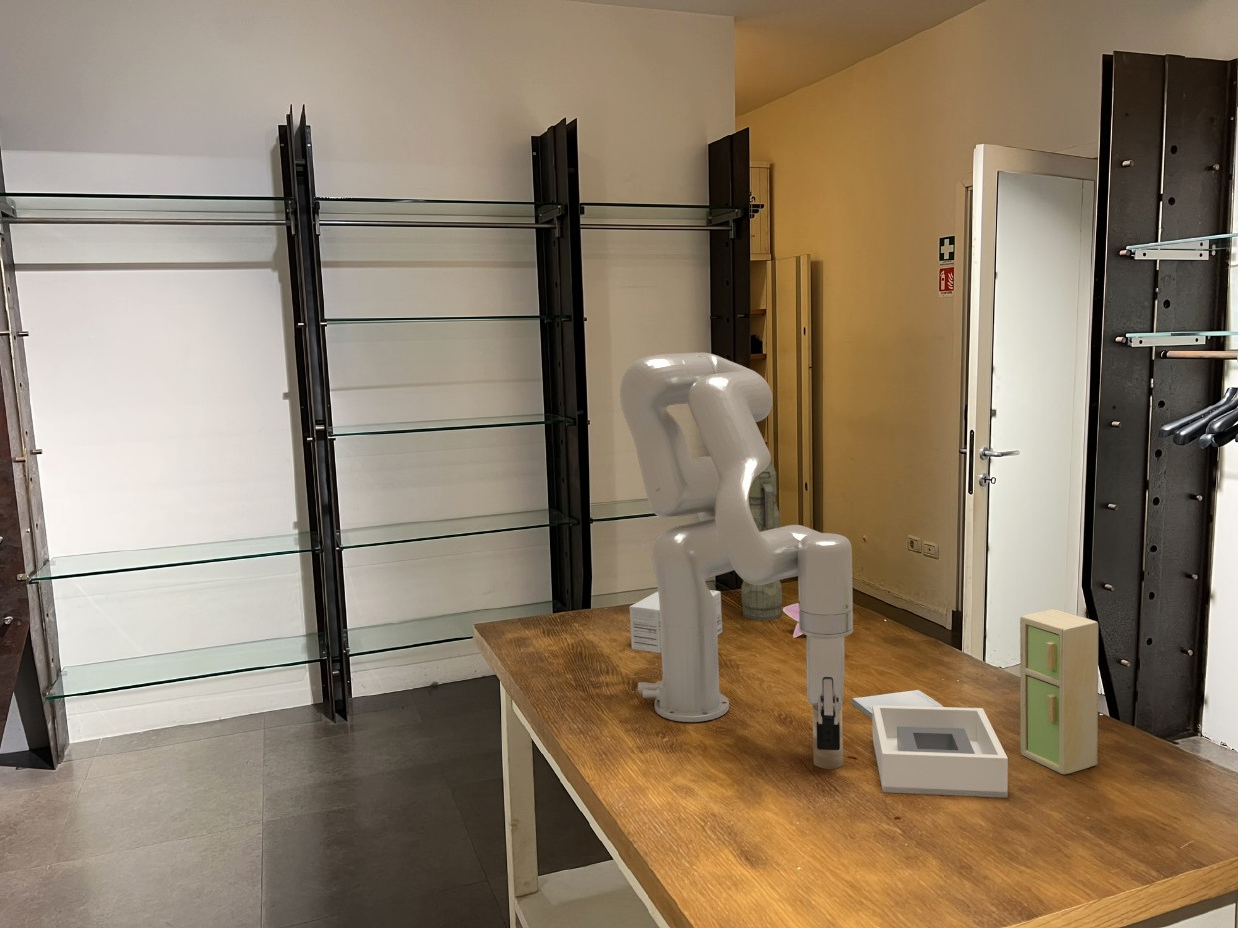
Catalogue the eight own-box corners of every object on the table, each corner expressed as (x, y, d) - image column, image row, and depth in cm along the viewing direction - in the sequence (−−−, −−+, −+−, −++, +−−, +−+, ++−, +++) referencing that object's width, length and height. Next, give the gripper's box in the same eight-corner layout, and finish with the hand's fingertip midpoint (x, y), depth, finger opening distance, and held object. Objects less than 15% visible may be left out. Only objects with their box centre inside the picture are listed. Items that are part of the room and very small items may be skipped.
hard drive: (874, 715, 150) (944, 705, 153) (850, 697, 158) (917, 687, 161) (874, 725, 151) (944, 715, 153) (851, 706, 158) (917, 697, 161)
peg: (813, 768, 135) (812, 701, 134) (813, 755, 139) (812, 691, 138) (843, 769, 135) (842, 702, 133) (842, 756, 139) (841, 691, 137)
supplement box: (668, 626, 206) (666, 584, 205) (722, 633, 199) (721, 590, 198) (629, 649, 192) (627, 605, 190) (687, 658, 185) (685, 612, 184)
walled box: (882, 791, 127) (882, 753, 127) (872, 739, 144) (872, 705, 143) (1007, 797, 124) (1007, 758, 124) (982, 743, 141) (982, 708, 140)
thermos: (758, 624, 204) (754, 465, 199) (732, 610, 215) (727, 459, 210) (793, 618, 207) (790, 461, 203) (765, 605, 218) (761, 456, 213)
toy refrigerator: (1014, 755, 137) (1016, 615, 134) (1051, 744, 140) (1054, 607, 137) (1059, 777, 129) (1062, 630, 127) (1097, 765, 132) (1101, 621, 130)
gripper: (798, 603, 143) (801, 718, 146) (799, 638, 127) (802, 766, 129) (849, 604, 142) (851, 719, 144) (856, 639, 125) (858, 768, 128)
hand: (827, 740), depth 137 cm, fingers closed on peg, 4 cm apart
